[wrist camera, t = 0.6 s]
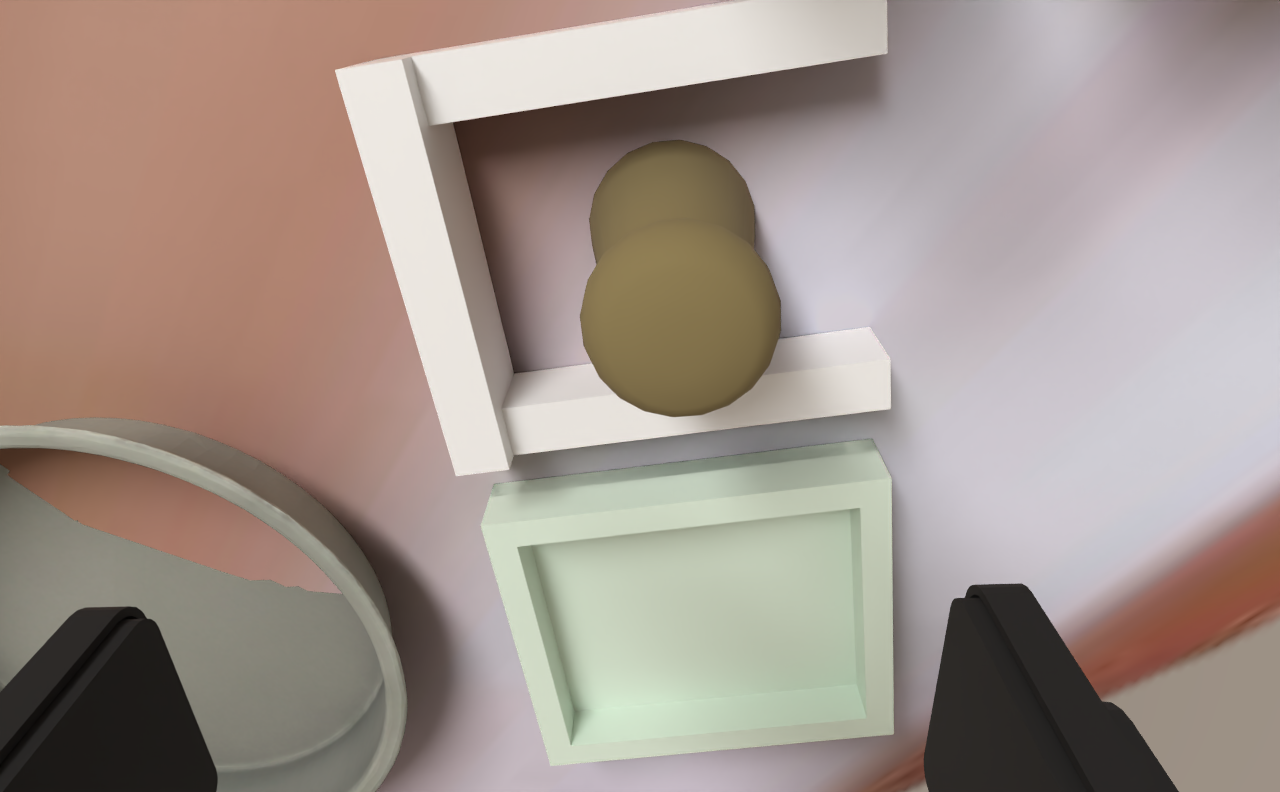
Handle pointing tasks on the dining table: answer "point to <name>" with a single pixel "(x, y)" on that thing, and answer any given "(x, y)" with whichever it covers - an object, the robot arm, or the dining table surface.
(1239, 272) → the dining table surface
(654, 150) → the cork
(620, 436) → the dock
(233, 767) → the cake pan
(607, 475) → the tray
